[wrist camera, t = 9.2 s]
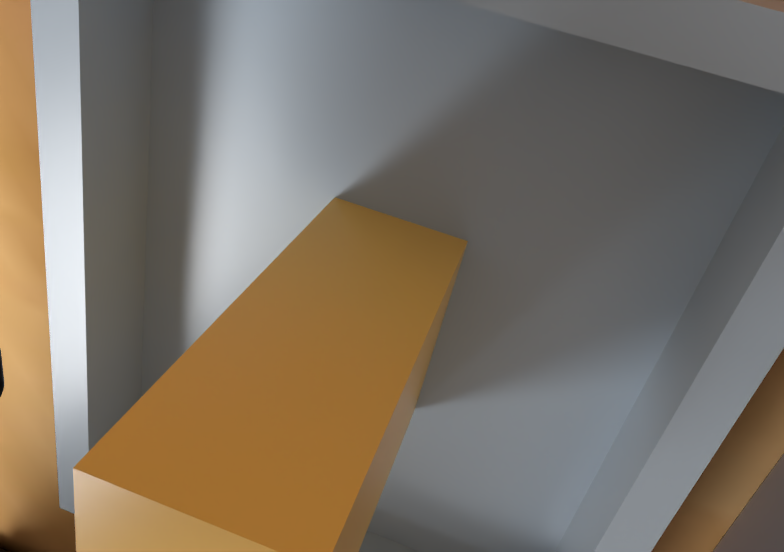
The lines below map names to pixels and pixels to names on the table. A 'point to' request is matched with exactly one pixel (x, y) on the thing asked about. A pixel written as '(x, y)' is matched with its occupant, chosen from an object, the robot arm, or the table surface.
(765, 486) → the fuse holder
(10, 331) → the table surface
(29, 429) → the table surface
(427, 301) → the block
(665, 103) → the tray
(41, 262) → the table surface
